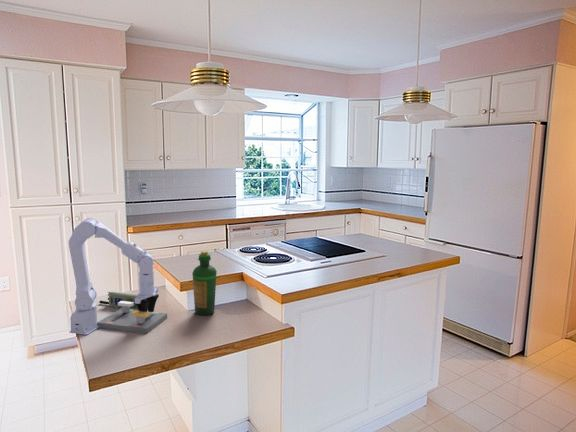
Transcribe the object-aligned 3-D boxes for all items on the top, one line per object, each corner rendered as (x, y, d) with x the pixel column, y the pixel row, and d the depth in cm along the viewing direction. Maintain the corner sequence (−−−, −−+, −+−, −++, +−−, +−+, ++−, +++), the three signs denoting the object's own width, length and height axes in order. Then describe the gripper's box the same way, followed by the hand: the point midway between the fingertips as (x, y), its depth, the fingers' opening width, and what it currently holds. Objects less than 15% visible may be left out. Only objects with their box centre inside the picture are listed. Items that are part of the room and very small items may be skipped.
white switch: (130, 313, 170) (130, 304, 169) (118, 312, 171) (117, 302, 170) (134, 311, 172) (133, 302, 171) (121, 310, 173) (121, 300, 173)
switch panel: (146, 333, 157) (146, 328, 156) (97, 327, 161) (97, 322, 161) (167, 317, 172) (167, 313, 172) (121, 312, 177) (121, 307, 176)
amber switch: (145, 324, 159) (145, 314, 159) (132, 322, 161) (131, 312, 160) (148, 322, 162) (148, 312, 161) (135, 320, 163) (135, 310, 162)
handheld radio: (144, 312, 178) (97, 305, 184) (149, 310, 181) (102, 303, 187) (144, 298, 177) (97, 291, 183) (149, 295, 180) (102, 289, 187)
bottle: (190, 309, 182) (190, 249, 178) (214, 306, 186) (214, 248, 182) (194, 318, 172) (194, 255, 168) (219, 315, 176) (219, 253, 172)
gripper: (145, 289, 156) (146, 322, 158) (164, 278, 170) (165, 308, 172) (129, 287, 157) (130, 320, 159) (149, 276, 171) (150, 307, 173)
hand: (147, 314), depth 166 cm, fingers open, 5 cm apart
